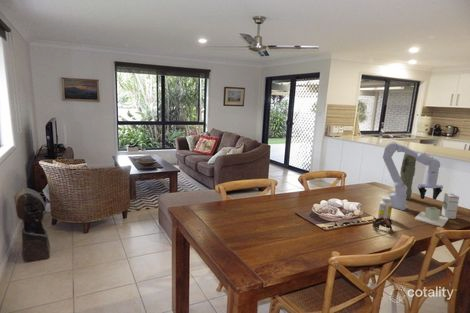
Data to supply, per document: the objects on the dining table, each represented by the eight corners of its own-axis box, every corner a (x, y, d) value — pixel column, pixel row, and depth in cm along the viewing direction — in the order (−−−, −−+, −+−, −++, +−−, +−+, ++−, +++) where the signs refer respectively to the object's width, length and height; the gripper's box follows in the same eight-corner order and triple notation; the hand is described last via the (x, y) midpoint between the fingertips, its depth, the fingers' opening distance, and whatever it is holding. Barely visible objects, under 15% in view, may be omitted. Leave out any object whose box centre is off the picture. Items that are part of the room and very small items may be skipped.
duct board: (414, 219, 171) (415, 212, 170) (421, 212, 182) (422, 206, 181) (442, 227, 161) (444, 219, 161) (448, 219, 173) (449, 212, 172)
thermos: (414, 198, 210) (421, 151, 204) (404, 200, 205) (412, 152, 198) (402, 194, 218) (409, 149, 211) (392, 196, 212) (399, 150, 206)
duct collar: (430, 219, 169) (432, 210, 168) (424, 216, 174) (426, 206, 173) (438, 219, 169) (440, 210, 168) (432, 216, 174) (434, 207, 173)
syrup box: (455, 219, 174) (460, 196, 171) (444, 218, 175) (449, 195, 172) (450, 215, 180) (455, 193, 177) (440, 214, 181) (444, 192, 178)
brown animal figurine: (389, 237, 147) (382, 223, 148) (373, 238, 155) (366, 224, 156) (400, 227, 154) (393, 213, 154) (384, 228, 162) (377, 214, 162)
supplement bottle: (389, 217, 173) (392, 197, 171) (391, 221, 167) (394, 200, 165) (377, 215, 175) (379, 195, 173) (378, 219, 169) (381, 198, 167)
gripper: (424, 179, 174) (420, 200, 177) (448, 180, 174) (444, 201, 177) (417, 176, 181) (413, 197, 183) (440, 177, 181) (436, 197, 183)
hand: (428, 199), depth 180 cm, fingers open, 7 cm apart
